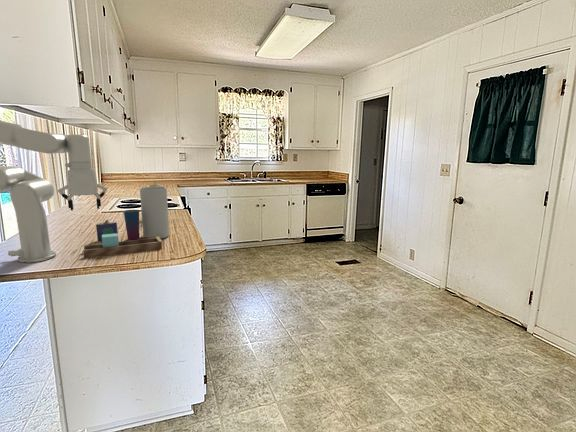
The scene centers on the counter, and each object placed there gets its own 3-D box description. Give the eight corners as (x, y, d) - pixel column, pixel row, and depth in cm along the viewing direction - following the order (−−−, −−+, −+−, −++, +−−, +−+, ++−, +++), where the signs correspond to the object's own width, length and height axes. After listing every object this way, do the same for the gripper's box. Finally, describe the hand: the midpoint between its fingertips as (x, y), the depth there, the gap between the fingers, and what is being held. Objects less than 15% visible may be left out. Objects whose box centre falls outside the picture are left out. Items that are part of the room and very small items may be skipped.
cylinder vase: (167, 239, 169) (164, 189, 164) (141, 240, 166) (137, 190, 161) (170, 233, 181) (168, 186, 176) (145, 233, 178) (142, 186, 173)
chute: (84, 260, 136) (82, 250, 135) (85, 253, 145) (84, 243, 144) (162, 251, 150) (161, 241, 149) (159, 245, 159) (158, 236, 158)
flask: (117, 238, 168) (115, 217, 166) (119, 239, 166) (117, 218, 164) (97, 242, 162) (94, 220, 160) (99, 243, 160) (96, 221, 158)
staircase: (159, 216, 223) (157, 178, 218) (166, 219, 214) (163, 180, 209) (147, 218, 218) (144, 179, 213) (153, 221, 209) (150, 180, 204)
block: (103, 253, 141) (101, 237, 140) (103, 250, 145) (101, 234, 144) (119, 251, 144) (117, 235, 142) (118, 248, 148) (117, 233, 147)
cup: (125, 243, 161) (122, 212, 158) (127, 239, 167) (124, 209, 164) (140, 242, 163) (138, 211, 160) (142, 238, 169) (140, 209, 166)
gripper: (53, 167, 126) (59, 212, 130) (105, 166, 135) (109, 209, 138) (55, 166, 133) (61, 209, 136) (105, 165, 141) (109, 206, 145)
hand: (85, 209), depth 137 cm, fingers open, 8 cm apart
